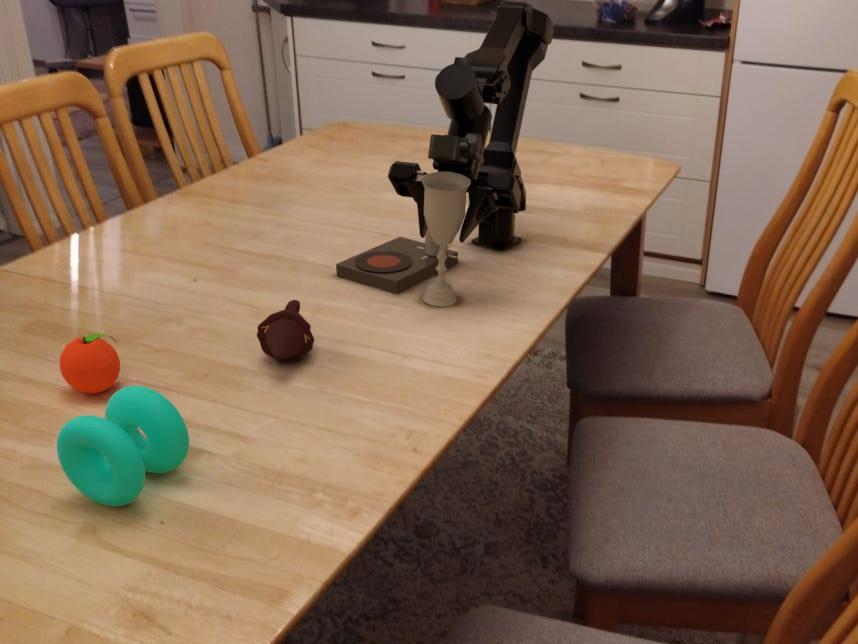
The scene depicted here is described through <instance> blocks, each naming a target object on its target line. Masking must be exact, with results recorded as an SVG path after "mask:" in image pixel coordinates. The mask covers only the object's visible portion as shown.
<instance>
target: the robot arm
mask: <svg viewBox="0 0 858 644" xmlns="http://www.w3.org/2000/svg"><path fill="white" fill-rule="evenodd" d="M553 37H554V23H553V20H552V19H551V17H550V16H549V15H548V14H547V13H546V12H543V11H541V10H539V9H537V8H535V7H533V5H532V4H530V3H528V2H527V1H515V0H503V1H500V2H498V5H497V8H496V15H495V18H494V19H493V21H492V23H491V25H490V27H489V29H488V31H487V33H486V35H485V37H484V39H483V41H482V43H481V45H480V46H479V48H478V49H476V50H473V51H470V52H468V53H466V55H465V56H464V57H461V56H455V57H454V60H453V63H451V64H448V65H446V66H445V67H443V68H442V69H441V70H440V71H439V73H438V74H437V75H436V76H435V78H434V79H435V80H434V87H435V91H436V93H437V95H438V98H439V101H440V103H441V105H442V109H443V110H444V113H445V115H446V117H447V118H448V119H449V120H450V122H449V126H448V131H447V134H436V133H435V134H434V133H433V134H430V139H429V147H428V154H427V159H428V160H432V165H431V166H432V168H433V170H436V171H437V172H454V173H458V174H461V175H464V176H466V177H467V178H469V179H470V182H471V183H470V186H469V187H468V189H467V192H466V194H468V195H467V196H468V206H467V210H466V211H465V217H464V219H463V222H462V224H461V227H460V232H459V238H458V239H459V240H458V241H459V242H460V243H461V244H463V243H465V241H466V240H467V239H468V238H469V237H470V235H471V234H472V233H473V231H474V230H475V229H476V228H478V229H477V230H478V231H477V232H478V233H477V235H478V236H477V237H475V238H472V239H471V241H470V242H471V244H472V245H476V246H480V247H485V248H488V249H492V250H497V251H499V252H500V251H501V252H502V251H505V250H508V249H509V248H511V247H513V246H515V245H517V244H519V243H522V240H523V239H522V237H519V236H516V235H515V227H516V214H519V213H520V212H525V211H526V209H527V190H526V188H525V184H524V181H523V177H522V169H521V167H520V164H519V162H518V159H517V156H516V153H517V147H518V144H519V137H520V133H521V128H522V123H523V118H524V115H525V110H526V104H527V99H528V96H529V95H528V94H529V89H530V84H531V80H532V75H533V71H535V69H536V68H538V66H539V65H540V64H541V63H543V62H544V60H545V59H546V56H547V51H548V48H549V45H551V44H552V42H553ZM487 104H489V105H496V108H495V112H494V118H493V114H492V112H491V110H490V108H489V106H488V105H487ZM492 120H493V123H492ZM489 132H490V137H489V141H488V136H489ZM487 141H488V144H487ZM387 173H388V174H387V178H388V180H389V181H390V183H391V185H392V187H393V189H394V191H395V193H396V194H397V196H400V197H404V198H411V199H413V201H414V202H415V203H416V207H417V220H418V229H419V236H420V238H421V239H425V235H426V232H427V230H428V227H427V224H426V220H425V216H424V194H425V187H424V185H423V183H422V178H423V177H424V176H425V175H427V174H428V173H427V172H426V171H423V170H422V169H421V167H420V164H419V163H418V162H408V161H400V160H399V161H398V160H396V161H394V162H393V163H392V164H391V165H390V166H389V170H388V172H387Z"/></svg>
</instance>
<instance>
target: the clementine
mask: <svg viewBox="0 0 858 644" xmlns="http://www.w3.org/2000/svg"><path fill="white" fill-rule="evenodd" d="M102 337H108V338H111V339H112V340H113V341H114V343H115V344H118V342H117V341H116V339H115V338H114V337H113V336H111V335H107V334H104V333H92V334H89V335H84V336H79V337H75V338H74V339H73V340H71V341H70V342H68V344H66V345H65V347H64V348H63V350H62V352H61V353H60V357H59V371H60V374H61V376H62V378H63V379H64V381H65V382H66V384H68V386H69V387H71V388H72V389H74V390H75V391H78V392H81V393H84V394H98V393H103V392H104V391H106V390H108V389H109V388H111V387H112V386H113V385H114V384H115V383H116V381H117V380H118V377H119V376H120V371H121V361H120V360H121V359H120V358H119V357H120V356H119V354H118V352H117V351H116V349H115V348H114V347H113V346H112V345H111V344H110V343H109V342H107V340H105V339H103V338H102Z"/></svg>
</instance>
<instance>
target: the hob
mask: <svg viewBox="0 0 858 644" xmlns="http://www.w3.org/2000/svg"><path fill="white" fill-rule="evenodd" d="M451 247H452V245H451V244H449V245H448V253H447V254H446V255H447V259H446V260H445V266H446V267H447V270H448V269H450V268H452V267H454V266H456V265H458V264H459V252H458V251H456V250H452V249H449V248H451ZM378 251H391V252H398V253H402V254H405V255H407V256H409V257H410V258H411V259H412V265H411V266H410V267H409V268H407V269H405V270H402V271H398V272H392V273H374V272H368V271H364V270H361V269H359V268H358V267H357V266H356V265H355V260H356V258H357V257H359V256H361V255H363V254H366V253H370V252H378ZM438 264H439V261H438V258H437V256H430V255H427V254H426V253H425V242H422V241H418V240H414V239H411V238H407V237H403V236H398V237H396V238H393V239H391V240H388V241H386V242H384V243H382V244H379V245H377V246H375V247H372V248H370V249H367V250H365V251H363V252H361V253H358V254H356V255H354V256H351V257H349V258H347V259H345V260H342V261H340V262H337V263H335V268H336V277H339V278H342V279H346V280H348V281H352V282H356V283H359V284H363V285H366V286H369V287H372V288H376V289H379V290H382V291H386V292H389V293H393V294H397V295H398V294H400V293H401V292H403V291H406V290H407V289H409V288H411V287H413V286H415V285H417V284H420V283H421V282H423V281H426V280H428V279H429V278H431V277H433V276H436V275H438V271H437V270H436V267H437V266H438Z"/></svg>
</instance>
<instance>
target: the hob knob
mask: <svg viewBox="0 0 858 644" xmlns="http://www.w3.org/2000/svg"><path fill="white" fill-rule="evenodd" d="M424 243H425V253H426V254H427V255H430V256H437V255H438V254H439V250H440V248H439V245H438V244H436V243H434V241H433V239H432V236H431V234H430V232H429V229H428V230H427V232H426V235H425V237H424ZM448 246H449V245H446V249H445V250H446V254H447V253H448V249H449V248H448Z"/></svg>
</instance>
